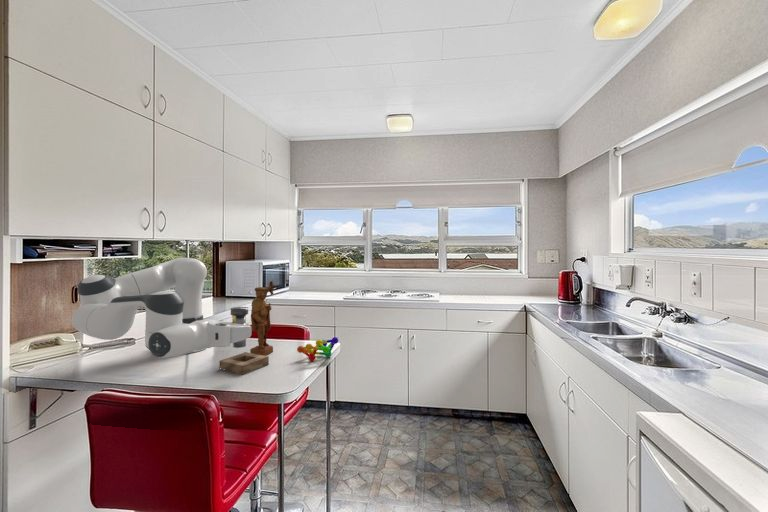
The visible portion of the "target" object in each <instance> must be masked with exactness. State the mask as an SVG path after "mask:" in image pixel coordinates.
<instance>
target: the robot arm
mask: <svg viewBox="0 0 768 512" xmlns="http://www.w3.org/2000/svg"><path fill="white" fill-rule="evenodd" d="M207 275H208V269H207V267H206V265H205V264H204V263H203V262H202V260H201V261H200V260H199V259H197V258H192V257H177V258H174V259H171V260H168V261H166V262H165V261H164V262H162V263H159V264H156V265H154V266H151V267H148V268H144V269H143V268H142V269H141V270H140V269H139V270H136V271H134V272H133V271H132V272H129V273H125V274H123V275H120V276H117V277H115V278H113V277H111V276H109V275H106V274H93V275H90V276H87V277H84V278H83V279H81V280H80V281H79V282H78V284H77V294H78V295H79V298H80V302H81V306H79V307H78V308H77V309H75V311H74V312H73V313H72V316H71V324H72V326H73V327H74V328H75V330H76V331H78V332H80V333H82V334H83V335H86V336H88V337H91V338H93V339H100V340H107V341H109V340H116V339H119V338H121V337H123V336H124V335H126V334H127V333H128V332H129V331H130V330H131V328H132V327H133V325H134V321H135V317H136V314H137V310H138V308H144V309H145V331H144V332H145V333H144V335H145V336H144V338H145V339H144V342H145V347H146V348H147V349H148V351H150V354H151V355H152V356H154V357H156V358H159V359H165V358H166V359H167V358H173V357H179V356H182V355H183V356H184V355H187V354H191V353H197V352H200V351H203V350H205V349H211V348H225V347H230V346H231V344H233V343H235V342H239V341H242V340H245V339H246V340H247V339H250V338H251V336H252V325H251V324H249V323H244V324H236V323H232V321H231V322H229V321H221V320H215V319H214V318H204V315H203V301H202V299H203V292H204V291H203V290H204V285H205V279H206V277H207ZM172 288H174V291H173V290H172V291H171V290H170V289H172Z"/></svg>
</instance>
